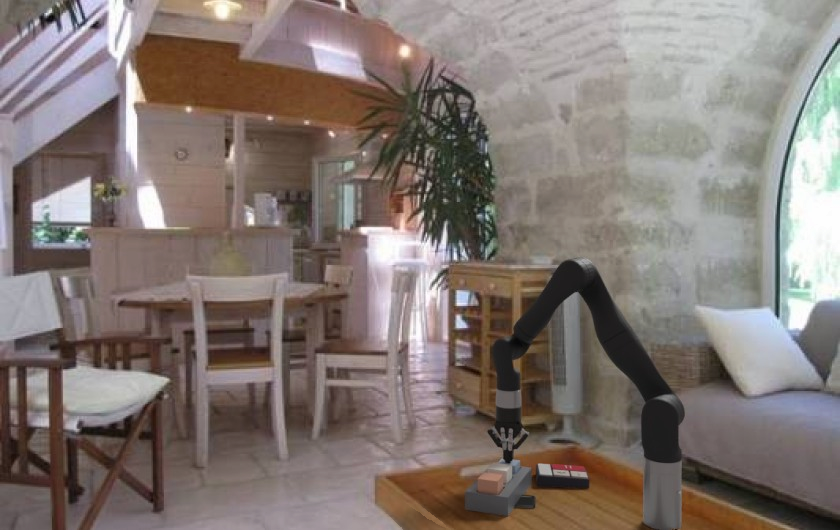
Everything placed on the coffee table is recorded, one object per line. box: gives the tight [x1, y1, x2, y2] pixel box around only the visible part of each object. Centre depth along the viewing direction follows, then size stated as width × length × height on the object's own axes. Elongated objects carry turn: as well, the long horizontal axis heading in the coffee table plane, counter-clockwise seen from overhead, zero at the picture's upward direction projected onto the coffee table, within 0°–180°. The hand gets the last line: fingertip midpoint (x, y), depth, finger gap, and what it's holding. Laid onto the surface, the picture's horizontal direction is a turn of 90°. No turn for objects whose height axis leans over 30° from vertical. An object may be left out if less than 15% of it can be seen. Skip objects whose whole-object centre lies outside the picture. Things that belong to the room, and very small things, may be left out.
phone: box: [514, 494, 537, 509], centre depth 198 cm, size 8×1×15 cm
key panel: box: [464, 462, 533, 517], centre depth 202 cm, size 12×26×5 cm, turn 157°
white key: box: [487, 462, 512, 484], centre depth 202 cm, size 6×6×4 cm
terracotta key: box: [477, 471, 503, 495], centre depth 194 cm, size 6×6×4 cm
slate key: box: [497, 457, 521, 474], centre depth 210 cm, size 6×6×4 cm
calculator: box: [535, 463, 591, 489], centre depth 215 cm, size 11×4×15 cm
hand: (508, 461), depth 210 cm, fingers closed
